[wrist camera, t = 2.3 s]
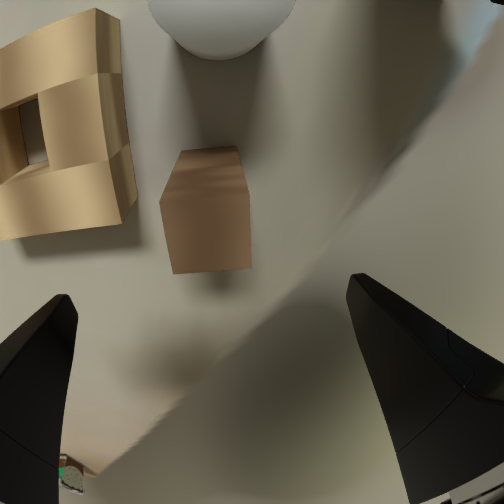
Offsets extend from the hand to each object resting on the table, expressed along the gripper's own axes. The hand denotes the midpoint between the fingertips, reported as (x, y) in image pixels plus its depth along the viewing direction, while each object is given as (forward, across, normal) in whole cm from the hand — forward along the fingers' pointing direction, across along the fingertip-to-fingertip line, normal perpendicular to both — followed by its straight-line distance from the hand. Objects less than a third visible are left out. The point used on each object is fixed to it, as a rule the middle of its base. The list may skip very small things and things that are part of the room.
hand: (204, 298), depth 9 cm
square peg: (+12, 0, 0) cm, 12 cm away
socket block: (+12, +11, -5) cm, 17 cm away
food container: (+12, +49, +69) cm, 85 cm away
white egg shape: (+12, -1, -10) cm, 15 cm away
